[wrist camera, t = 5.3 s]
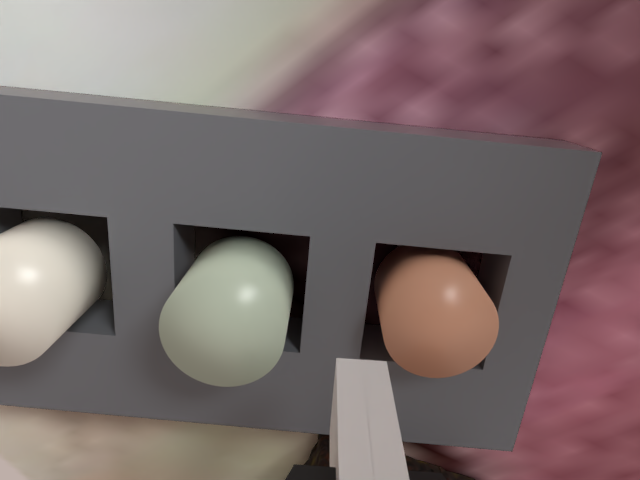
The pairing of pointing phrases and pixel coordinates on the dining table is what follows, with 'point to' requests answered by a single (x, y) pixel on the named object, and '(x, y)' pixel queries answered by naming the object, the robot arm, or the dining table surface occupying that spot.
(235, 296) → the sage button
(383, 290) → the terracotta button
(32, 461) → the dining table surface
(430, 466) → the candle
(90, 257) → the cream button
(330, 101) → the dining table surface
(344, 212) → the panel
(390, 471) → the robot arm
